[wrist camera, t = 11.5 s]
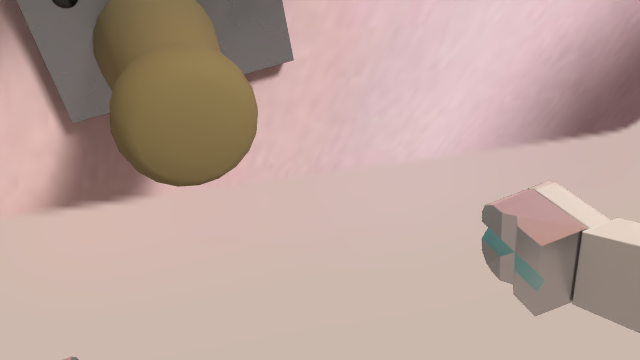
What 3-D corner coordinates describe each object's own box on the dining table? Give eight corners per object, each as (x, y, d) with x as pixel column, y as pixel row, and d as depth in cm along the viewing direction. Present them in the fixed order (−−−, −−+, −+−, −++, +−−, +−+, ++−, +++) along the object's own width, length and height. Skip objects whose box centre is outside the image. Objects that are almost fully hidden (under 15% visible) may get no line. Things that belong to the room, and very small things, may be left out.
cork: (206, 111, 30) (259, 216, 21) (86, 95, 27) (87, 208, 18) (228, -1, 27) (298, 63, 18) (99, -30, 25) (107, 28, 16)
